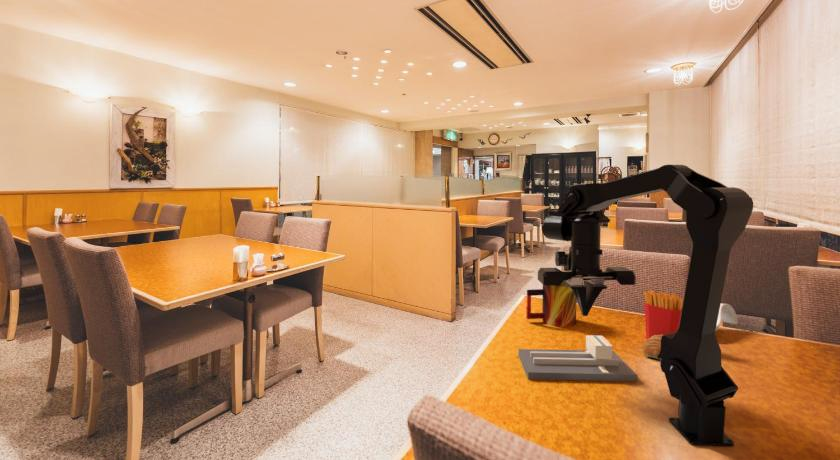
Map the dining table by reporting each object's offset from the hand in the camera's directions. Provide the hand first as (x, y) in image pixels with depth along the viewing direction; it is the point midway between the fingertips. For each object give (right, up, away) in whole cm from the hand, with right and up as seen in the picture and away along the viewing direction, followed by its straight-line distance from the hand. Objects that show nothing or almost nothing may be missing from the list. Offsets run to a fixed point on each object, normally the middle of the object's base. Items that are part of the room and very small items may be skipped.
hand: (584, 315), depth 83 cm
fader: (+4, -11, +3) cm, 12 cm away
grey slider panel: (-1, -12, +3) cm, 13 cm away
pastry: (+23, -12, +10) cm, 27 cm away
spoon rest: (+45, -10, +26) cm, 52 cm away
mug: (+5, -10, +33) cm, 34 cm away
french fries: (+27, -11, +17) cm, 34 cm away
